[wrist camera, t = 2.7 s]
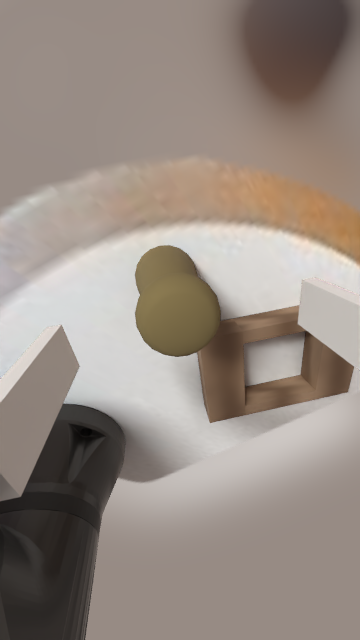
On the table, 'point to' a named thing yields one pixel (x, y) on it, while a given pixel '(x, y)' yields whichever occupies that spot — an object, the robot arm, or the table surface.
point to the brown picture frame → (237, 400)
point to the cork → (174, 303)
